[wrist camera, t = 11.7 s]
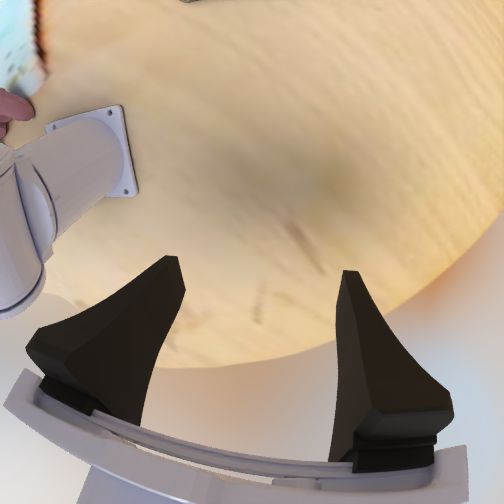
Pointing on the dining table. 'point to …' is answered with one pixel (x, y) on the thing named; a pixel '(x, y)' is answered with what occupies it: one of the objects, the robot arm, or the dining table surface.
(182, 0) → the grey open box
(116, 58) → the dining table surface
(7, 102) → the video game controller
